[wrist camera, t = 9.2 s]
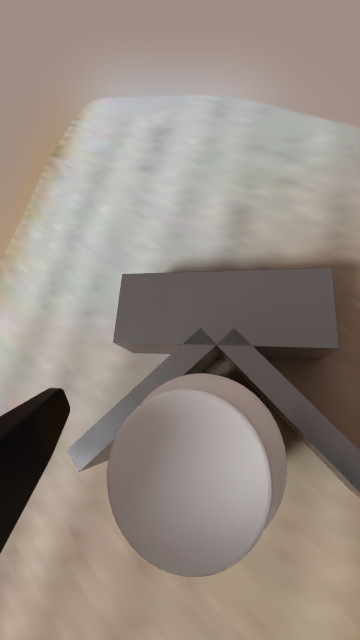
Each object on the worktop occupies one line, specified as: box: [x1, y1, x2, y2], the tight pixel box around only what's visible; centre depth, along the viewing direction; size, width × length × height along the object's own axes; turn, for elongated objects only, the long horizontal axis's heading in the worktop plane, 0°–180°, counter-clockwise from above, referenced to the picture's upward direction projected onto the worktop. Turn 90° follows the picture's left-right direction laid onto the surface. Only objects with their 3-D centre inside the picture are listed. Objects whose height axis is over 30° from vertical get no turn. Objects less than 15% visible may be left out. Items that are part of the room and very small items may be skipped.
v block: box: [67, 268, 360, 497], centre depth 15 cm, size 10×14×3 cm
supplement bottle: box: [107, 373, 287, 577], centre depth 11 cm, size 5×5×10 cm
